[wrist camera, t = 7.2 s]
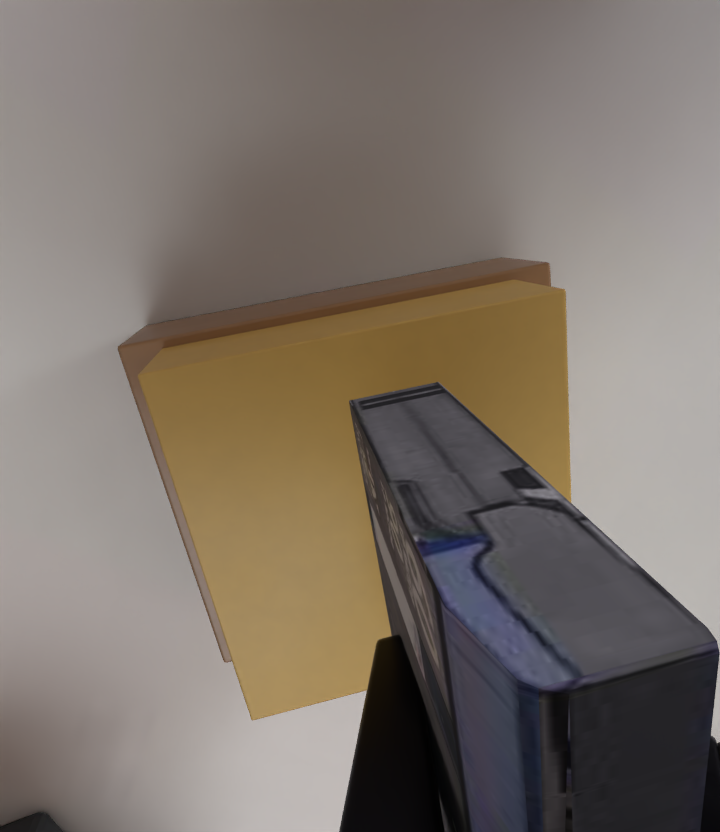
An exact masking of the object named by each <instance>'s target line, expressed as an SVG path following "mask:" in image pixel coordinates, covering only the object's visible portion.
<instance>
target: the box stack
mask: <svg viewBox="0 0 720 832" xmlns="http://www.w3.org/2000/svg"><path fill="white" fill-rule="evenodd" d="M118 352H119V355H120V358H121V360H122V363H123V366H124V369H125V372H126V375H127V378H128V381H129V384H130V387H131V390H132V393H133V396H134V399H135V402H136V405H137V408H138V410H139V413H140V416H141V419H142V422H143V425H144V428H145V431H146V434H147V437H148V440H149V443H150V446H151V449H152V452H153V455H154V458H155V460H156V463H157V466H158V469H159V472H160V475H161V478H162V481H163V484H164V487H165V490H166V493H167V496H168V499H169V502H170V505H171V508H172V510H173V513H174V516H175V519H176V522H177V525H178V528H179V531H180V534H181V537H182V540H183V543H184V546H185V549H186V552H187V555H188V558H189V561H190V563H191V566H192V569H193V572H194V575H195V578H196V581H197V584H198V587H199V590H200V593H201V596H202V599H203V602H204V605H205V608H206V611H207V613H208V616H209V619H210V622H211V625H212V628H213V631H214V634H215V637H216V640H217V643H218V646H219V649H220V652H221V655H222V658H223V660H224V662H231V661H232V662H233V665H234V668H235V671H236V674H237V677H238V680H239V683H240V686H241V689H242V692H243V695H244V698H245V701H246V704H247V707H248V710H249V713H250V716H251V719H252V720H256V719H260V718H264V717H268V716H271V715H275V714H279V713H283V712H286V711H290V710H294V709H298V708H301V707H305V706H309V705H313V704H316V703H320V702H324V701H328V700H332V699H335V698H339V697H343V696H347V695H350V694H354V693H358V692H362V691H365V690H367V688H368V683H369V678H370V672H371V667H372V662H373V657H374V652H375V647H376V643H377V641H378V640H379V639H382V638H385V637H389V636H392V635H391V629H390V624H389V618H388V613H387V607H386V602H385V597H384V591H383V586H382V580H381V575H380V569H379V564H378V558H377V553H376V547H375V542H374V536H373V531H372V526H371V520H370V515H369V509H368V504H367V498H366V493H365V487H364V482H363V476H362V471H361V465H360V460H359V454H358V449H357V444H356V438H355V433H354V427H353V422H352V416H351V411H350V405H349V400H354V399H359V398H363V397H368V396H373V395H378V394H383V393H387V392H392V391H397V390H402V389H407V388H411V387H416V386H421V385H426V384H430V383H435V382H439V383H440V384H442V385H443V386H444V387H445V388H446V389H447V390H448V391H449V392H450V393H451V394H452V395H454V396H455V397H456V398H457V399H458V400H459V401H460V402H461V403H462V404H463V405H464V406H466V407H467V408H468V409H469V410H470V411H471V412H472V413H473V414H474V415H475V416H476V417H478V418H479V419H480V420H481V421H482V422H483V423H484V424H485V425H486V426H487V427H489V428H490V429H491V430H492V431H493V432H494V433H495V434H496V435H497V436H498V437H499V438H501V439H502V440H503V441H504V442H505V443H506V444H507V445H508V446H509V447H510V448H511V449H513V450H514V451H515V452H516V453H517V454H518V455H519V456H520V457H521V458H522V459H523V460H525V461H526V462H527V463H528V464H529V465H530V466H531V467H532V468H533V469H534V470H535V471H537V472H538V473H539V474H540V475H541V476H542V477H543V478H544V479H545V480H546V481H547V482H549V483H550V484H551V485H552V486H553V487H554V488H555V489H556V490H557V491H558V492H559V493H561V494H562V495H563V496H564V497H565V498H566V499H567V500H568V501H569V502H570V503H571V478H570V440H569V402H568V364H567V326H566V291H565V289H560V288H555V287H551V278H550V264H549V263H547V262H538V261H529V260H520V259H511V258H502V257H501V258H496V259H491V260H486V261H480V262H475V263H470V264H465V265H460V266H454V267H449V268H444V269H439V270H433V271H428V272H423V273H418V274H413V275H407V276H402V277H397V278H392V279H387V280H381V281H376V282H371V283H366V284H360V285H355V286H350V287H345V288H340V289H334V290H329V291H324V292H319V293H313V294H308V295H303V296H298V297H293V298H287V299H282V300H277V301H272V302H267V303H261V304H256V305H251V306H246V307H240V308H235V309H230V310H225V311H220V312H214V313H209V314H204V315H199V316H193V317H188V318H183V319H178V320H173V321H167V322H162V323H157V324H152V325H147V326H145V327H144V328H142V329H141V330H140V331H138V332H137V333H136V334H134V335H133V336H132V337H130V338H129V339H128V340H126V341H125V342H124V343H122V344H121V345H120V346H118Z"/></svg>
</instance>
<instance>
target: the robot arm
mask: <svg viewBox="0 0 720 832" xmlns="http://www.w3.org/2000/svg"><path fill="white" fill-rule="evenodd" d="M339 832H445V830H444V824H443V817H442V811H441V805H440V798H439V792H438V786H437V780H436V774H435V768H434V762H433V756H432V750H431V744H430V738H429V732H428V726H427V720H426V714H425V708H424V703H423V699H422V695H421V692H420V689H419V686H418V683H417V681H416V678H415V675H414V672H413V669H412V667H411V664H410V661H409V658H408V655H407V653H406V650H405V647H404V644H403V641H402V638H401V636H400V635H393V636H389V637H385V638H382V639H379V640H378V641H377V643H376V647H375V652H374V657H373V662H372V667H371V672H370V678H369V683H368V688H367V693H366V698H365V703H364V708H363V713H362V718H361V723H360V729H359V734H358V739H357V744H356V749H355V754H354V759H353V764H352V769H351V775H350V780H349V785H348V790H347V795H346V800H345V805H344V810H343V815H342V820H341V826H340V831H339ZM700 832H720V742H719V743H717V742H716V740H715V738H714V737H712V736H710V745H709V754H708V763H707V773H706V782H705V791H704V800H703V810H702V819H701V828H700Z"/></svg>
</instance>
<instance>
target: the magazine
mask: <svg viewBox="0 0 720 832" xmlns="http://www.w3.org/2000/svg"><path fill="white" fill-rule="evenodd" d="M0 832H63V831H62V830H61V829H60V828H59V827H58V826H57V825H56V823H55V822H54V821H53V820H52V819H51V818H50V817H49V816H48V814H45V813H36V814H34V815H31V816H28V817H26V818H23V819H21V820H18V821H16V822H13V823H11V824H8V825H6V826H3V827H0Z"/></svg>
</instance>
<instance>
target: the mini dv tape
mask: <svg viewBox="0 0 720 832" xmlns="http://www.w3.org/2000/svg"><path fill="white" fill-rule="evenodd" d="M349 405H350V411H351V416H352V422H353V427H354V433H355V438H356V444H357V449H358V454H359V460H360V465H361V471H362V476H363V482H364V487H365V493H366V498H367V504H368V509H369V515H370V520H371V526H372V531H373V536H374V542H375V547H376V553H377V558H378V564H379V569H380V575H381V580H382V586H383V591H384V597H385V602H386V607H387V613H388V618H389V624H390V629H391V635H392V636H393V635H400V636H401V638H402V641H403V644H404V647H405V650H406V653H407V655H408V658H409V661H410V664H411V667H412V669H413V672H414V675H415V678H416V681H417V683H418V686H419V689H420V692H421V695H422V699H423V703H424V708H425V714H426V720H427V726H428V732H429V738H430V744H431V750H432V756H433V762H434V768H435V774H436V780H437V786H438V792H439V798H440V805H441V811H442V817H443V824H444V830H445V832H700V828H701V819H702V810H703V800H704V791H705V782H706V773H707V763H708V754H709V745H710V736H711V727H712V717H713V708H714V699H715V690H716V680H717V671H718V662H719V649H718V645H717V640H716V639H715V638H714V636H713V635H712V634H711V632H710V631H709V629H708V628H707V627H706V626H705V625H704V624H703V623H701V622H700V621H699V620H698V619H697V618H696V617H695V616H694V615H693V614H692V613H691V612H689V611H688V610H687V609H686V608H685V607H684V606H683V605H682V604H681V603H680V602H678V601H677V600H676V599H675V598H674V597H673V596H672V595H671V594H670V593H669V592H668V591H666V590H665V589H664V588H663V587H662V586H661V585H660V584H659V583H658V582H657V581H656V580H654V579H653V578H652V577H651V576H650V575H649V574H648V573H647V572H646V571H645V570H644V569H642V568H641V567H640V566H639V565H638V564H637V563H636V562H635V561H634V560H633V559H632V558H630V557H629V556H628V555H627V554H626V553H625V552H624V551H623V550H622V549H621V548H620V547H618V546H617V545H616V544H615V543H614V542H613V541H612V540H611V539H610V538H609V537H608V536H606V535H605V534H604V533H603V532H602V531H601V530H600V529H599V528H598V527H597V526H596V525H594V524H593V523H592V522H591V521H590V520H589V519H588V518H587V517H586V516H585V515H583V514H582V513H581V512H580V511H579V510H578V509H577V508H576V507H575V506H574V505H573V504H571V503H570V502H569V501H568V500H567V499H566V498H565V497H564V496H563V495H562V494H561V493H559V492H558V491H557V490H556V489H555V488H554V487H553V486H552V485H551V484H550V483H549V482H547V481H546V480H545V479H544V478H543V477H542V476H541V475H540V474H539V473H538V472H537V471H535V470H534V469H533V468H532V467H531V466H530V465H529V464H528V463H527V462H526V461H525V460H523V459H522V458H521V457H520V456H519V455H518V454H517V453H516V452H515V451H514V450H513V449H511V448H510V447H509V446H508V445H507V444H506V443H505V442H504V441H503V440H502V439H501V438H499V437H498V436H497V435H496V434H495V433H494V432H493V431H492V430H491V429H490V428H489V427H487V426H486V425H485V424H484V423H483V422H482V421H481V420H480V419H479V418H478V417H476V416H475V415H474V414H473V413H472V412H471V411H470V410H469V409H468V408H467V407H466V406H464V405H463V404H462V403H461V402H460V401H459V400H458V399H457V398H456V397H455V396H454V395H452V394H451V393H450V392H449V391H448V390H447V389H446V388H445V387H444V386H443V385H442V384H440V383H439V382H435V383H430V384H426V385H421V386H416V387H411V388H407V389H402V390H397V391H392V392H387V393H383V394H378V395H373V396H368V397H363V398H359V399H354V400H349Z"/></svg>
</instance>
